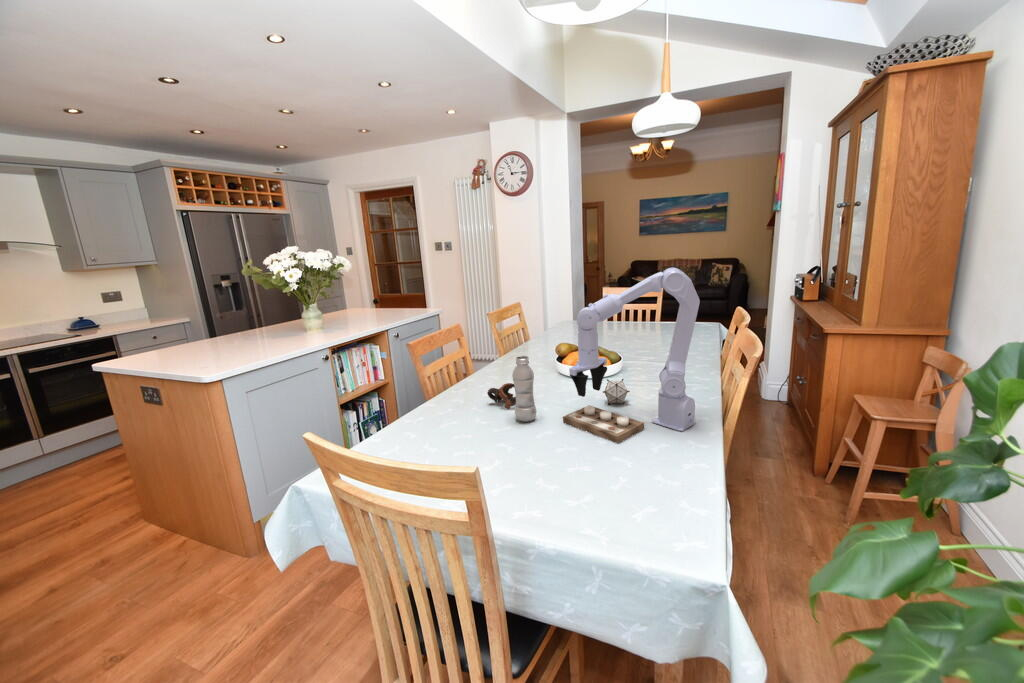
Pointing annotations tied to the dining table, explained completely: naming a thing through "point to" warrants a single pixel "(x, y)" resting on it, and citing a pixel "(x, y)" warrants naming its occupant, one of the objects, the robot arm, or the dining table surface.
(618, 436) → the button board
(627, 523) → the dining table surface
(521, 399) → the plastic bottle
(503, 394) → the dark brown twisted loops
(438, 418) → the dining table surface
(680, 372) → the robot arm
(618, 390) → the game die
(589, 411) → the button
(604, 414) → the button middle
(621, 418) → the button
